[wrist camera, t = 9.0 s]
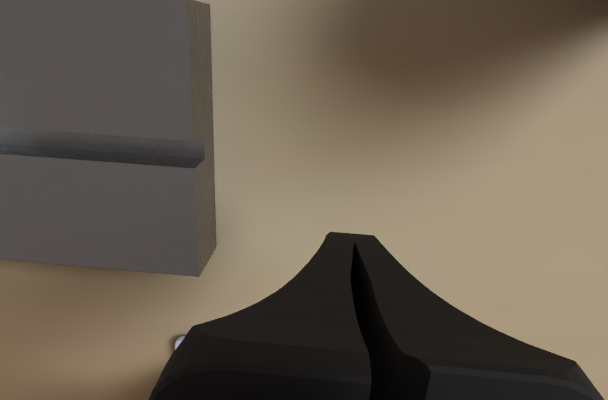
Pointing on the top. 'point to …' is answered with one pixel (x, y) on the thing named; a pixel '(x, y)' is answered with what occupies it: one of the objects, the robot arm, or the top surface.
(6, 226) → the fader console
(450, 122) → the top surface
